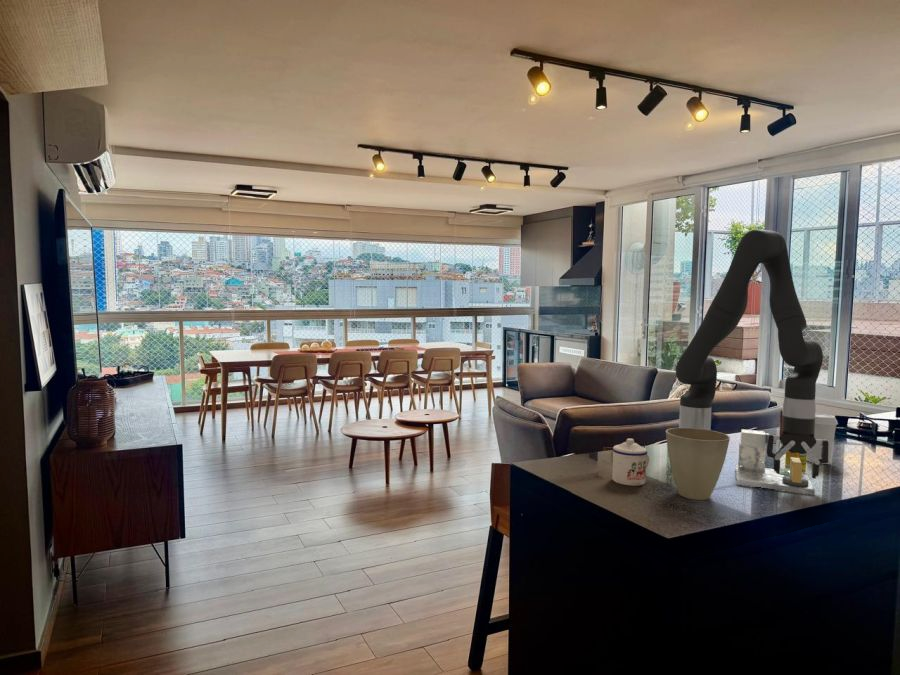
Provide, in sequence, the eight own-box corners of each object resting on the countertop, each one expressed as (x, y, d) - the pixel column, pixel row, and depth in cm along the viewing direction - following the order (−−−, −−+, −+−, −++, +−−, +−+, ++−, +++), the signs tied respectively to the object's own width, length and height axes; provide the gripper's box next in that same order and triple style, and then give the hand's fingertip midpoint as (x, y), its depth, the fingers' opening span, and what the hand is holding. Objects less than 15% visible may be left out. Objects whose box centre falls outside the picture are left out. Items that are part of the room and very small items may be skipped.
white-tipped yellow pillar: (809, 488, 153) (811, 465, 152) (783, 484, 155) (784, 462, 155) (806, 481, 159) (807, 459, 159) (781, 478, 162) (782, 456, 161)
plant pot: (654, 495, 148) (656, 433, 147) (675, 483, 160) (677, 425, 159) (716, 509, 139) (719, 442, 138) (734, 495, 150) (737, 433, 149)
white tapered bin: (803, 463, 185) (805, 416, 184) (798, 456, 194) (800, 411, 193) (838, 467, 181) (841, 419, 180) (831, 460, 190) (834, 414, 189)
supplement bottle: (790, 468, 178) (792, 437, 178) (809, 473, 174) (810, 441, 173) (781, 471, 175) (782, 439, 175) (800, 475, 171) (801, 442, 170)
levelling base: (736, 485, 159) (739, 439, 159) (735, 469, 176) (737, 428, 175) (814, 495, 152) (816, 447, 151) (805, 478, 168) (807, 434, 168)
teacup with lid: (630, 488, 154) (631, 444, 154) (604, 479, 162) (605, 437, 161) (660, 482, 160) (662, 439, 160) (634, 473, 168) (636, 433, 168)
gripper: (769, 414, 156) (766, 475, 157) (832, 419, 150) (829, 483, 151) (767, 410, 163) (764, 468, 163) (828, 415, 157) (824, 475, 157)
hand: (795, 475), depth 157 cm, fingers open, 8 cm apart
